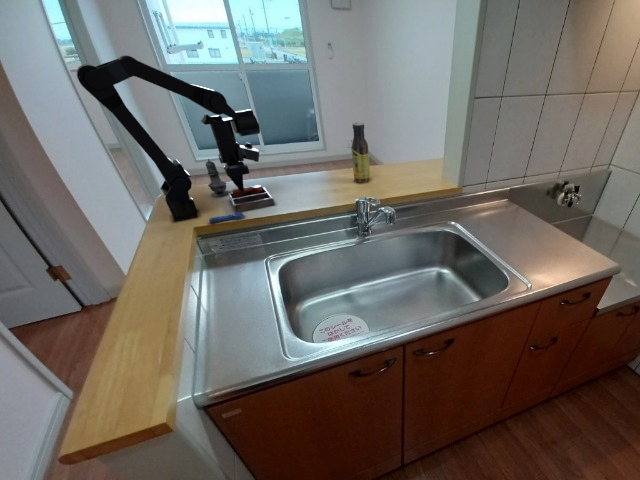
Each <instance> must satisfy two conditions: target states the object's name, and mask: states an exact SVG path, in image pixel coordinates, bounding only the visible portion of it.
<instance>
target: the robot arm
mask: <svg viewBox="0 0 640 480" xmlns="http://www.w3.org/2000/svg"><path fill="white" fill-rule="evenodd" d="M132 77H136V78H138V79H140V80H143V81H145V82H147V83H150V84H153V85H154V86H158V87H160V88H162V89H165V90H167V91H170V92H172V93H174V94H177V95H179V96H181V97H184V98H186V99H187V100H189V101H191V102H193V104H195V105H198V106H199V107H201V108H203V109H204V110H206V111H207V112H210V113H211V114H214V115H211V116H209V114H207V113H204V114H203V117H202V118H201V120H200V122H201V124H203V125H205V126H206V125H207V126H208V125H209V127H210V129H211V132H212V135H213V138H214V141H215V145H216V147H217V150H218V153H219V154H218V156H217V157H218V159H219V162H220V164H221V165H222V164H224V166H222V168H223V170H224V171H225V174H226V176H227V177H228V178H229V179H230V180H231V181H232V183H233V184H234V185H235V186H236V189H239V190H240V191H243V190H244V188H245V187H244V175H249V174H250V169H249V166H248V165H247V163H245V162H244V161H245V160H248V161H249V160H250V161H253V162H255V163H258V162H259V161H260V150H259V149H257V148H256V147H253V145H252V144H251V143H252V142H251V143H250V142H245V143H244V144H242V145H241V144H240V143H239V142H238V141H237V138H236V136H235V134H238V135H239V136H240V137H247V136H254V135H260V133H261V128H260V123H259V122H258V119H257V117H256V115H255V114H254V111H253V109H251V108H250V109H248V108H247V109H244V110H238V111H235V109H233V108H232V107H231V105H229V104H228V102H227V99H226V97H225V95H223V94H222V93H221V92H220V91H217V90H215V89H210V88H207V87H204V86H199V85H196V84H192V83H188V82H187V81H184V80H182V79H179V78H177V77H175V76H173V75H170V74H168V73H166V72H164V71H163V70H159V69H158V68H156V67H153V66H150V65H148V64H146V63H144V62H142V61H140V60H137V59H136V58H135V57H133V56H130V55H127V54H125V55H121V56H119V57H118V58H116V59H113V60H110V61H107V62H104V63H101V64H98V65H96V66H95V65H93V64H88V63H85V64H81V65H79V66H78V67H77V69H76V78H77V80H78V82H79V84H80V85H81V86H82V87H83V89H84V90H86V92H88V94H90V95H91V96H92V97H94V98H95V99H96V100H97V101H98V102H99V103H100V104H101V105H102V106H103V107H104V108H106V109H107V110H108V111H109V112H110V113H111V114H113V116H114V117H115V118H116V120H118V122H119V123H120V124H121V125H122V127H123V128H124V129H125V130H126V131H127V132H128V133H129V135H130V136H131V137H132V138H133V139H134V140H135V142H136V143H137V144H138V145H139V146H140V147H141V149H142V150H143V151H144V152H145V154H147V156H148V157H149V158H150V160H152V162H153V163H154V164H155V166H156V168H157V170H158V171H159V173H160V174H161V176H162V178H163V179H164V181H163V183H162V184H161V187H160V190H161V192H162V194H163V195H164V201H165V203H166V205H167V207H168V209H169V212H170V213H171V216H172V219H173V222H179V221H183V220H189V219H194V218H198V217H199V216H198V213H199V210H198V207H197V205H196V203H195V200H194V198H193V197H191V196H190V194H189V191H190V190H191V188H192V185H193V183H192V180H191V176H192V175H190V173H189V172H188V171H187V170H185V168H184V166H183V165H182V163H181V162H180V161H179V160H178V159H177V158H175V159H174V160H172V159H170V158H169V157H168V156H167V155H166V154H165V152H164V151H163V150H162V148H161V147H160V146H159V145H158V144H157V143H156V142H155V141H154V139H153V138H152V136H151V135H150V134H149V133H148V132H147V131H146V129H145V128H144V127H143V125H142V124H141V123H140V122H139V120H138V119H137V118H136V117H135V116H134V114H133V113H132V112H131V111H130V110H129V108H128V107H127V106H126V104H125V101H123V99H122V96H120V94H119V91H118V90H117V88H116V87H115V85H117V84H119V83H122V82H124V81H126V80H129V79H130V78H132ZM222 115H224V116H226V117H224V118H223V117H222Z"/></svg>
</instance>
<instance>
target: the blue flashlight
mask: <svg viewBox="0 0 640 480" xmlns="http://www.w3.org/2000/svg"><path fill="white" fill-rule="evenodd" d="M242 219H244V212H236V211H235V212H234V213H232V214H230V213H229V214H226V215H220V216H216V217H210V218H209V219H208V222H209V223H210V224H216V223H221V222H226V221H231V220H234V221H235V220H242Z"/></svg>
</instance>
